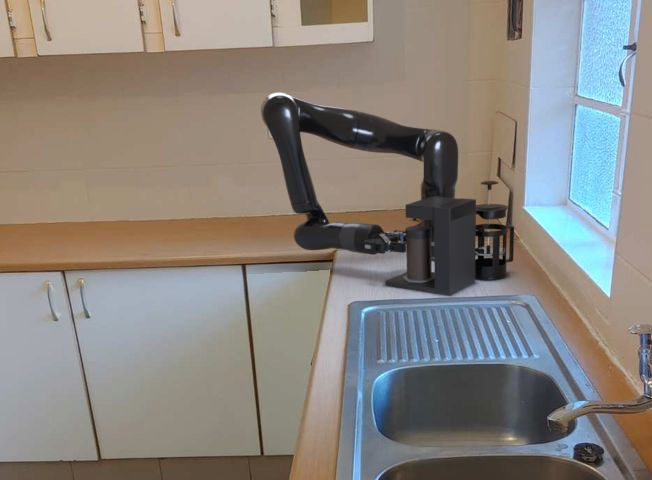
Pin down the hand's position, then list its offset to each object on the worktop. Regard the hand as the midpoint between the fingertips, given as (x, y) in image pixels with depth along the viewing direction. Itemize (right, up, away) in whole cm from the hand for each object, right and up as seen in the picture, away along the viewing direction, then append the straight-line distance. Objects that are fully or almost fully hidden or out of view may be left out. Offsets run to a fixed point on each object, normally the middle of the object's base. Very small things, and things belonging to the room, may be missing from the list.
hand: (415, 244), depth 182 cm
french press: (+19, -7, +6) cm, 21 cm away
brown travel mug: (+1, -8, +2) cm, 8 cm away
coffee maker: (+4, -10, +1) cm, 10 cm away
